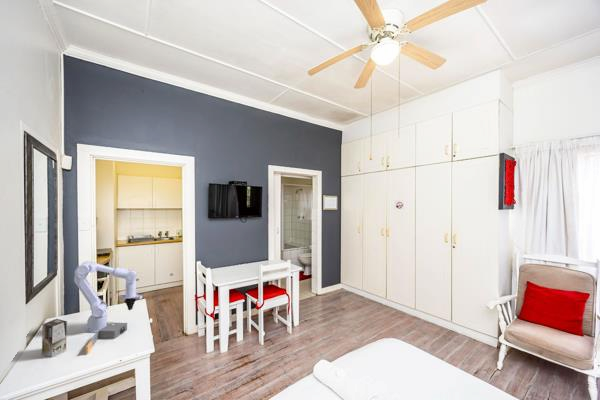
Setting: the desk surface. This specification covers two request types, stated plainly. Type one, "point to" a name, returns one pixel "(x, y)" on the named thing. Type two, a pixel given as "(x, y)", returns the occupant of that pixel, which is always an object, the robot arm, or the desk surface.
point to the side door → (91, 343)
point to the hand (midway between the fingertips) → (130, 309)
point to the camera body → (112, 330)
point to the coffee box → (54, 337)
